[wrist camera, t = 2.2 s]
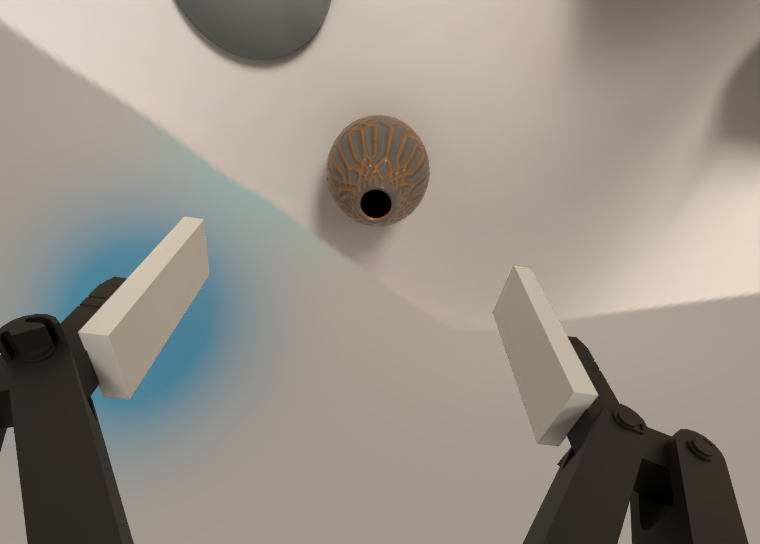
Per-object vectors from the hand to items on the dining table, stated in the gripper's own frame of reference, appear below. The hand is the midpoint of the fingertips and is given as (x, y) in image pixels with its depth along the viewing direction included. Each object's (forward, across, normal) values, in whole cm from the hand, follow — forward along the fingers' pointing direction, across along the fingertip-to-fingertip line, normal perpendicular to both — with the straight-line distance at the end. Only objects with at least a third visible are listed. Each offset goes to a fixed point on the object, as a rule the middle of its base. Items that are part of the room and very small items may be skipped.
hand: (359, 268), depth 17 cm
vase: (+15, +1, 0) cm, 16 cm away
